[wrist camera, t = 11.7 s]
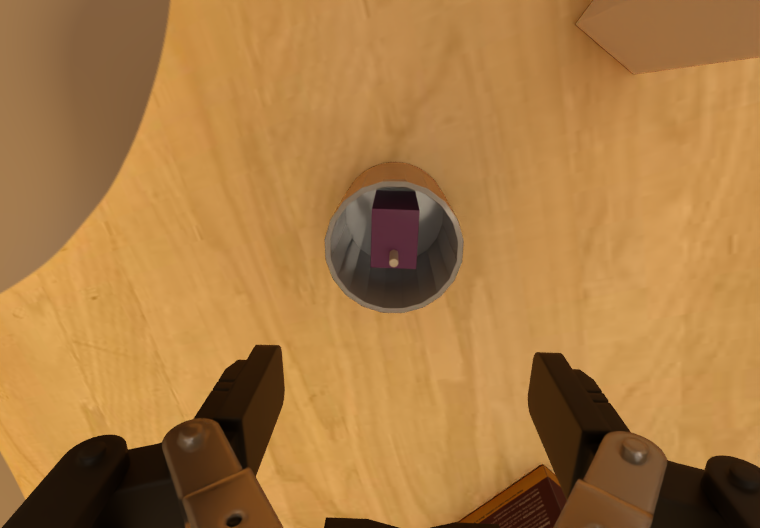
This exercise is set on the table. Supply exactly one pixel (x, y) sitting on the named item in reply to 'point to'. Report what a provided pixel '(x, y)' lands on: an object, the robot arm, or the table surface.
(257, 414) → the robot arm
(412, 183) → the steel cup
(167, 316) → the table surface
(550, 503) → the supplement box
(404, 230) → the juice box
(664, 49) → the milk
